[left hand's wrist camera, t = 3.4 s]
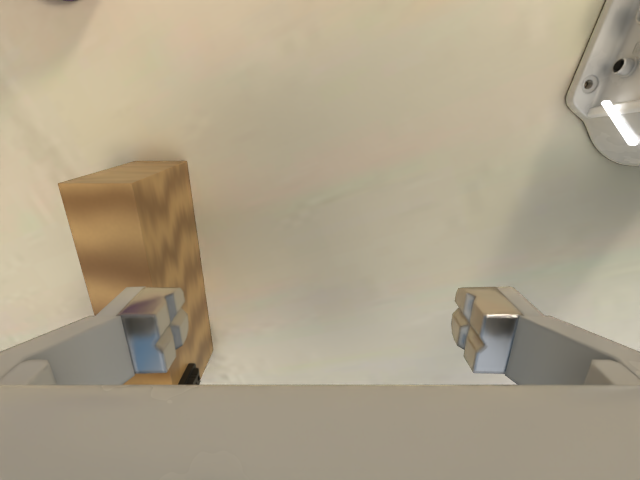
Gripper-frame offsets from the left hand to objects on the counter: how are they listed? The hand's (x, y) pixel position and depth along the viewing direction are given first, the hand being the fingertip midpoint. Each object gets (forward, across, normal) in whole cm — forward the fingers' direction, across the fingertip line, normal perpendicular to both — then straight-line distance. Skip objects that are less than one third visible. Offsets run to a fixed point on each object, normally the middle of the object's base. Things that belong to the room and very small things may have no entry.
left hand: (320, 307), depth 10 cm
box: (+30, -18, -13) cm, 37 cm away
